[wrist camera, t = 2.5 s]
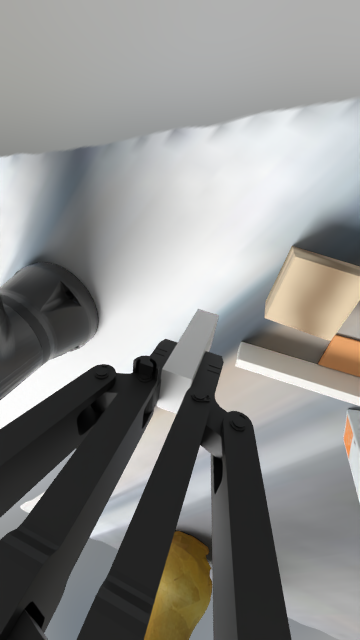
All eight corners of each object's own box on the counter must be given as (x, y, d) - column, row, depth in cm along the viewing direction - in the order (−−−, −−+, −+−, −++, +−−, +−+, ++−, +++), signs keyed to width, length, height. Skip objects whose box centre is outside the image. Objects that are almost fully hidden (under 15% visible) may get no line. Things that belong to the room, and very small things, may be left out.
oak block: (265, 300, 31) (264, 317, 27) (291, 245, 27) (294, 256, 23) (323, 320, 30) (330, 341, 26) (359, 265, 26) (373, 280, 22)
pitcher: (208, 569, 74) (179, 715, 54) (153, 535, 78) (105, 660, 57) (226, 548, 66) (199, 714, 45) (162, 512, 69) (110, 649, 48)
